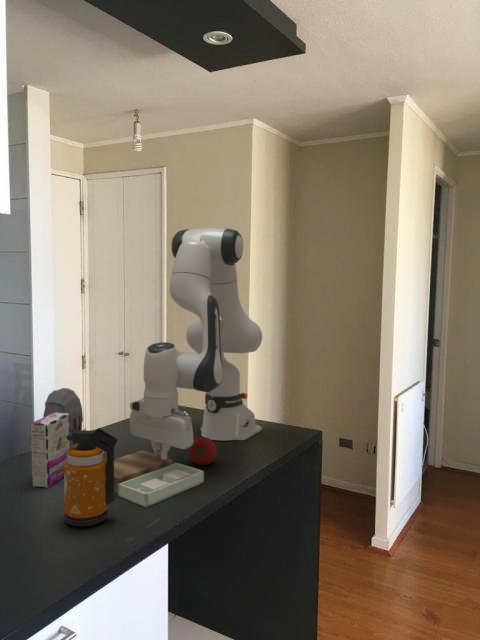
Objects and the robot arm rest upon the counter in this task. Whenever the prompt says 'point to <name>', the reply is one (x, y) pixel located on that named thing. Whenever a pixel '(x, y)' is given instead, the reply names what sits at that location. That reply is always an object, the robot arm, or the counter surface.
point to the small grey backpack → (66, 408)
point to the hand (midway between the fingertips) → (160, 458)
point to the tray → (133, 493)
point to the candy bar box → (49, 449)
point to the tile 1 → (152, 485)
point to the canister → (89, 477)
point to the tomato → (202, 451)
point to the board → (136, 466)
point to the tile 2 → (174, 476)
